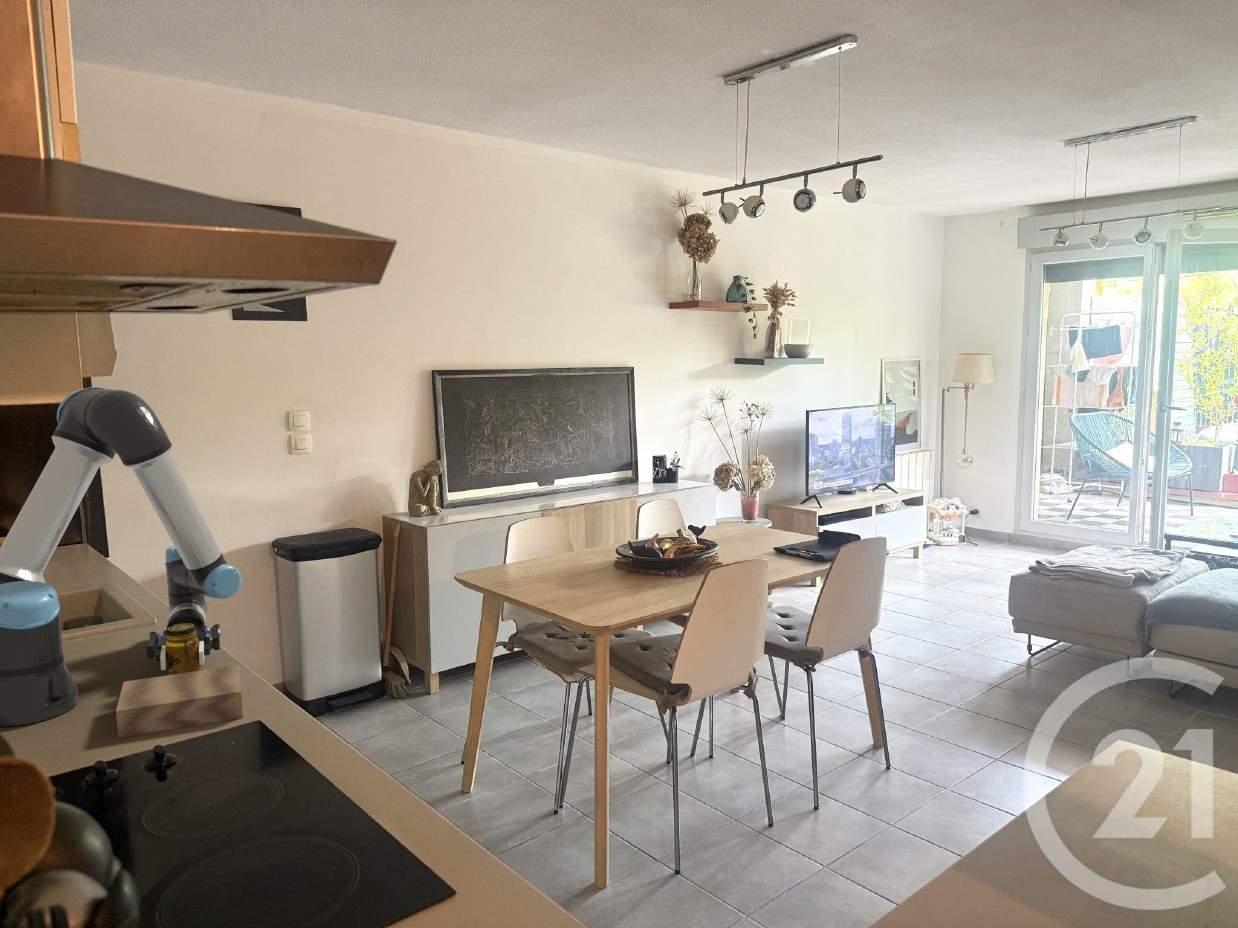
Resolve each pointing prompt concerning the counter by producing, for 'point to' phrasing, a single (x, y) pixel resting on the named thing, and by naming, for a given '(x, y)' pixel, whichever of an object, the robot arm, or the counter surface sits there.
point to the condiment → (182, 649)
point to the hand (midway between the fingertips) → (182, 660)
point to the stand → (179, 701)
